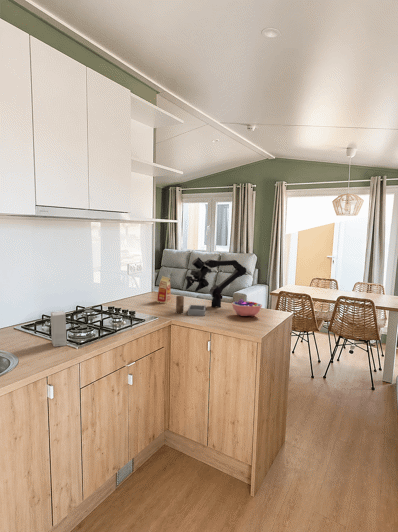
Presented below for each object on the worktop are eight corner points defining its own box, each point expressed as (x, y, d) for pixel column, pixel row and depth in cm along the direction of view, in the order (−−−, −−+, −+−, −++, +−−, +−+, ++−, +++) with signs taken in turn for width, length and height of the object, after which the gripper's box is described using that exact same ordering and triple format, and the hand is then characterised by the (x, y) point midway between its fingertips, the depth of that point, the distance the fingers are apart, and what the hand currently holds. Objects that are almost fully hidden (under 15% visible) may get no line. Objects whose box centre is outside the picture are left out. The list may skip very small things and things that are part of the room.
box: (205, 310, 237) (205, 305, 236) (204, 315, 222) (204, 310, 221) (189, 309, 237) (189, 304, 237) (187, 315, 222) (187, 309, 222)
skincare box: (66, 345, 157) (66, 314, 156) (52, 347, 155) (52, 315, 153) (64, 340, 165) (64, 310, 163) (50, 341, 162) (50, 311, 160)
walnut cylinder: (183, 311, 231) (184, 295, 229) (182, 313, 226) (183, 297, 224) (176, 311, 231) (176, 295, 230) (175, 313, 226) (175, 297, 225)
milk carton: (156, 302, 258) (157, 276, 256) (161, 300, 267) (162, 274, 265) (167, 303, 255) (168, 277, 253) (172, 301, 264) (173, 275, 262)
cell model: (261, 320, 215) (262, 303, 214) (229, 317, 219) (230, 300, 218) (261, 314, 232) (262, 298, 231) (232, 311, 236) (233, 295, 235)
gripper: (187, 264, 245) (175, 280, 238) (206, 267, 232) (194, 284, 225) (195, 274, 251) (183, 290, 245) (213, 277, 239) (202, 295, 232)
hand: (190, 290), depth 236 cm, fingers open, 9 cm apart
